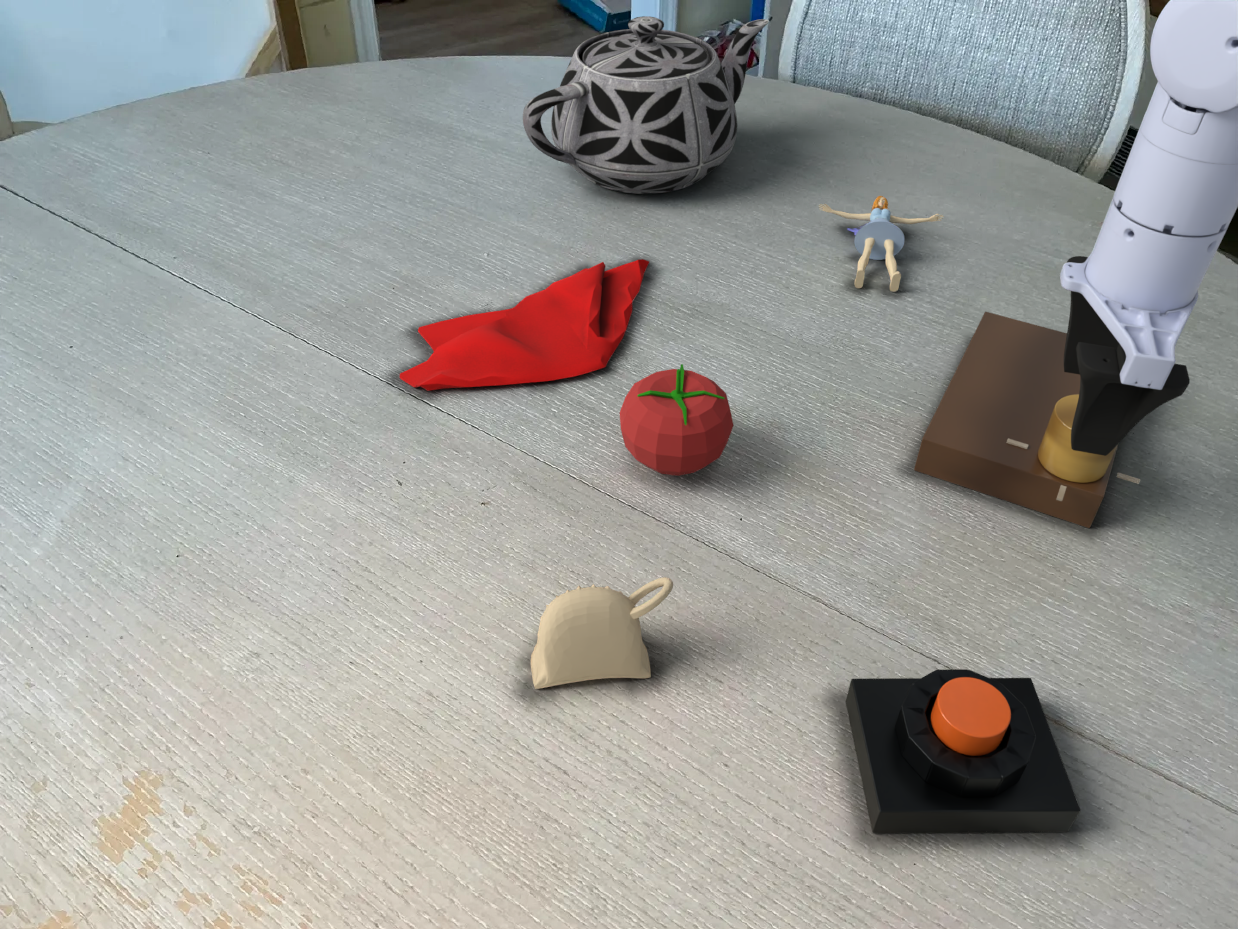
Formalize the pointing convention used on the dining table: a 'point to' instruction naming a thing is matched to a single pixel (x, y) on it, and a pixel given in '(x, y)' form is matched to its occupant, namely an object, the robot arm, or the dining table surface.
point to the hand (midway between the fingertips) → (1084, 408)
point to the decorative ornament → (594, 635)
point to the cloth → (534, 334)
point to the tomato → (676, 421)
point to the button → (970, 716)
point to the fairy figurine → (879, 238)
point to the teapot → (644, 107)
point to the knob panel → (1008, 421)
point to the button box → (956, 762)
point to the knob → (1069, 448)
